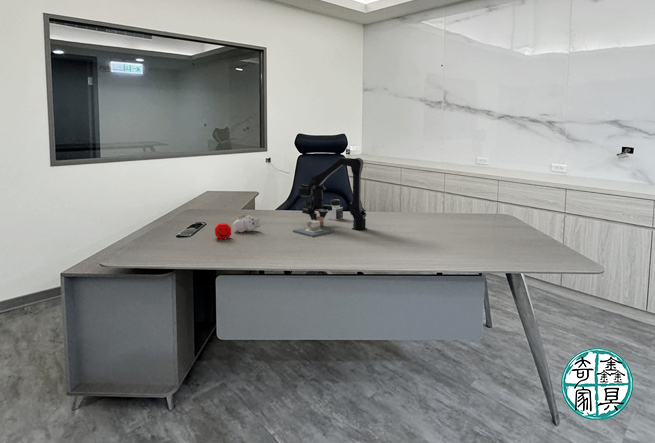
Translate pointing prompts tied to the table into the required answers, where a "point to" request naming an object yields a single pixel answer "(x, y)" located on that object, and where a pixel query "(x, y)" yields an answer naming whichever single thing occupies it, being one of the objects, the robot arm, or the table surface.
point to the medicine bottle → (335, 210)
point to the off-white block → (313, 225)
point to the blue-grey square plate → (313, 233)
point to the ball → (222, 230)
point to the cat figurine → (245, 223)
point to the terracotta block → (320, 220)
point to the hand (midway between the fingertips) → (317, 223)
